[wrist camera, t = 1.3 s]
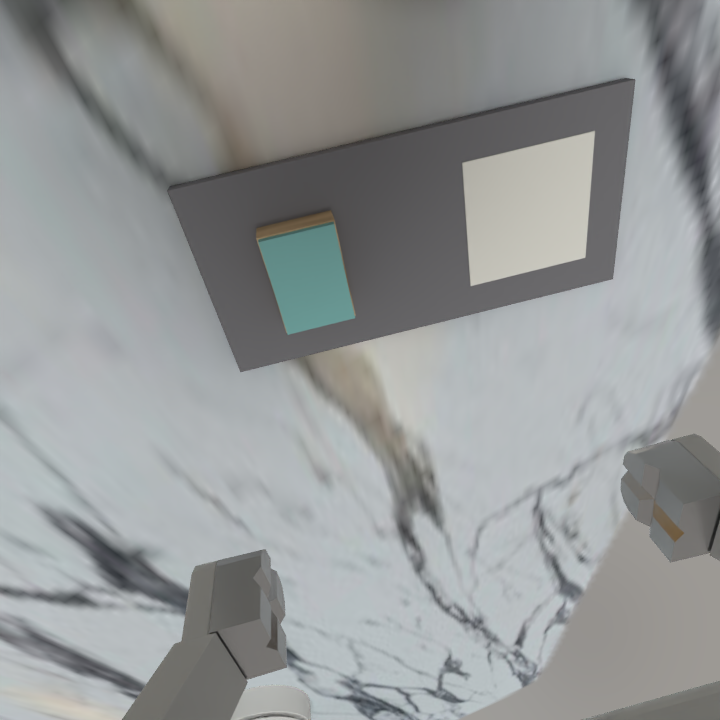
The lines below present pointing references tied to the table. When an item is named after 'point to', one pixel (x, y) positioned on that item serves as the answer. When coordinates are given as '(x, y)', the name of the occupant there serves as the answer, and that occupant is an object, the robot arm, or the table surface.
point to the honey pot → (273, 704)
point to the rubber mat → (424, 219)
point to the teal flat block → (306, 271)
